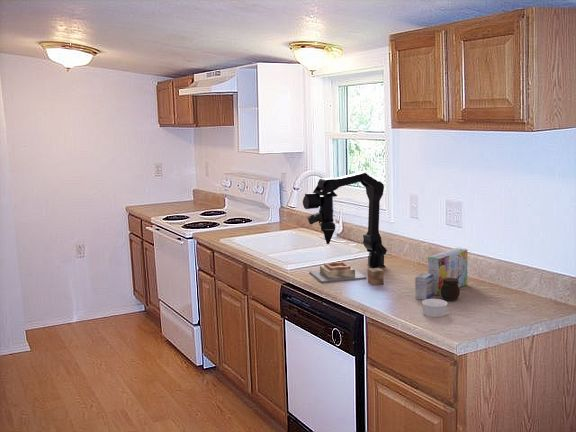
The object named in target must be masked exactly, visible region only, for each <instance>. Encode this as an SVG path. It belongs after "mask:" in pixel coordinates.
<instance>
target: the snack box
mask: <svg viewBox="0 0 576 432" xmlns="http://www.w3.org/2000/svg"><path fill="white" fill-rule="evenodd" d="M427 266H428V267H427V270H428V271H427V273H430V274H433V295H435V296H441V292H440V290H441V287H442V285H443V279H444V278H447V277H451V278H457V277H458V276H460V274H462V275H461V276H460V277H459V278H458V287H459V289H460V288H462V287H465V286H468V249H467V248H459V247H455V248H452V249H449V250H447V251H446V250H445V251H442V252H440V253H436V254H434V255H430V256H428V257H427Z"/></svg>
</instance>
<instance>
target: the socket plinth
mask: <svg viewBox="0 0 576 432" xmlns="http://www.w3.org/2000/svg"><path fill="white" fill-rule="evenodd" d="M319 270H320V272H321V273H322V274H323V275H325V276H326V277H327V278H328V279H330V278H342V277H353V276H355V270H356V269H355V268H354V267H352V266H351V265H349V264H348V263H346V262H345V261H335V262H326V263H324V264H323V265H322V264H320V265H319Z"/></svg>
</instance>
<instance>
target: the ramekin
mask: <svg viewBox="0 0 576 432" xmlns="http://www.w3.org/2000/svg"><path fill="white" fill-rule="evenodd" d="M421 306H422V314H423V315H425V316H427V317H431V318H441V317H444V316H446V314H447V307H448V301H447V300H444V299H439V298H428V299H426V300H422V301H421Z"/></svg>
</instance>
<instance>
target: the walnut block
mask: <svg viewBox="0 0 576 432" xmlns="http://www.w3.org/2000/svg"><path fill="white" fill-rule="evenodd" d="M384 272H385V271H384V270H383V269H381V267H377V268H372V267H371V268H367V283H368V284H369V285H371V286H373V287H374V286H383V285H385V283H384V282H385V279H384V278H385V273H384Z"/></svg>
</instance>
